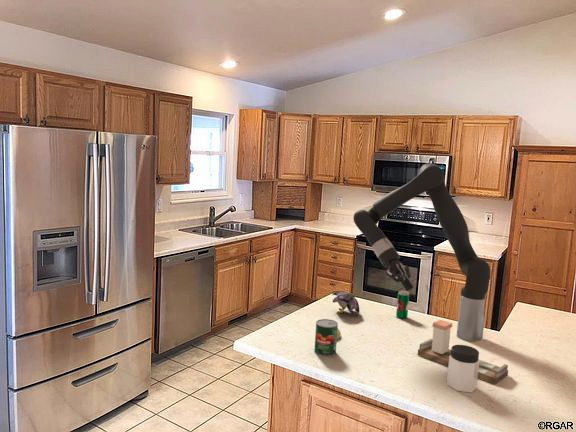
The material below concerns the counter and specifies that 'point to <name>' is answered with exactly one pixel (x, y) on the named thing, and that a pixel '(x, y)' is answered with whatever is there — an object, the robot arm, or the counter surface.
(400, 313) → the soda can
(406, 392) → the counter surface
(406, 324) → the counter surface
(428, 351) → the fader console
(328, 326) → the canned tomato
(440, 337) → the fader knob
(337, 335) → the bread roll
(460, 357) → the jar
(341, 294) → the bird figurine
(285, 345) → the counter surface
